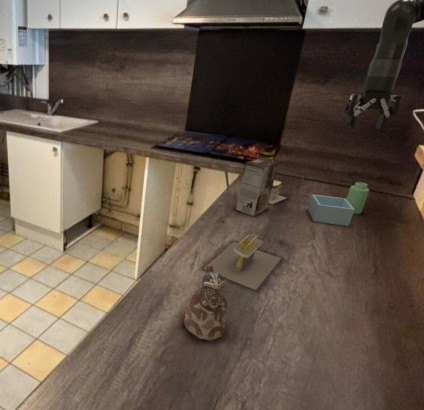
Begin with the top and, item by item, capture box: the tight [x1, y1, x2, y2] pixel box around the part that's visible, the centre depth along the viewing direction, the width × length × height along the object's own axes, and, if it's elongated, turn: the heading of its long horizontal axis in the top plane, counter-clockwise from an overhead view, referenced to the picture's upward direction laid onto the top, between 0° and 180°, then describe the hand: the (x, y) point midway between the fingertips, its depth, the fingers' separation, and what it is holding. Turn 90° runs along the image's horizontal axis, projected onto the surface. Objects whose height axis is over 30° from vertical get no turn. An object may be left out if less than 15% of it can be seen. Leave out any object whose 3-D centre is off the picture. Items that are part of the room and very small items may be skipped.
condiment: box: [257, 151, 275, 161], centre depth 139 cm, size 7×8×12 cm
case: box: [307, 194, 355, 227], centre depth 111 cm, size 9×9×6 cm
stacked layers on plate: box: [269, 179, 287, 205], centre depth 126 cm, size 10×9×6 cm
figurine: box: [184, 264, 228, 341], centre depth 64 cm, size 7×7×12 cm
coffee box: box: [236, 157, 279, 217], centre depth 114 cm, size 9×6×16 cm
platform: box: [203, 234, 282, 291], centre depth 86 cm, size 12×18×7 cm, turn 137°
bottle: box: [345, 181, 370, 215], centre depth 115 cm, size 5×5×10 cm
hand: (364, 128), depth 115 cm, fingers open, 8 cm apart
